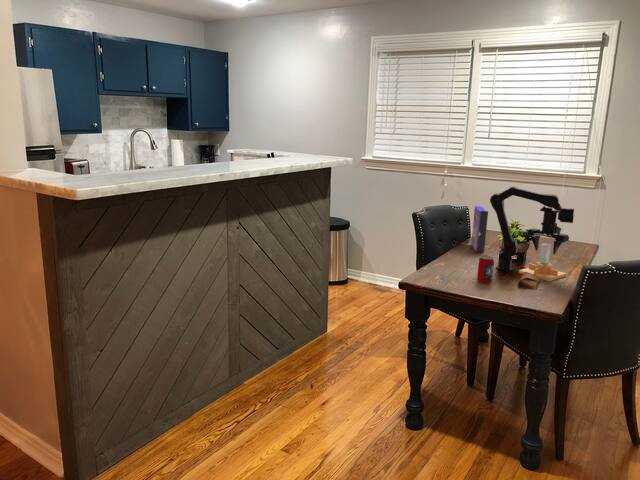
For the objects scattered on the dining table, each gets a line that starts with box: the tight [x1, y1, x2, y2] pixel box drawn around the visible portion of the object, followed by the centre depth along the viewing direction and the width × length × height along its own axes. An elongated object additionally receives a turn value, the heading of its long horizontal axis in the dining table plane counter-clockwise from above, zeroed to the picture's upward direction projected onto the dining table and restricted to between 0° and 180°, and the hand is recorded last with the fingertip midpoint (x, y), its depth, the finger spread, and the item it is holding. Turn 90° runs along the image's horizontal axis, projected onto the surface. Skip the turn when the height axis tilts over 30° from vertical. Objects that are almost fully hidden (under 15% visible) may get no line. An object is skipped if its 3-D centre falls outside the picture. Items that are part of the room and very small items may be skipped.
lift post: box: [538, 242, 552, 264], centre depth 252 cm, size 3×3×10 cm
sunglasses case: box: [517, 272, 542, 291], centre depth 239 cm, size 18×7×7 cm, turn 153°
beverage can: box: [476, 255, 495, 285], centre depth 238 cm, size 7×7×12 cm
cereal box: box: [470, 205, 489, 252], centre depth 303 cm, size 17×5×24 cm, turn 172°
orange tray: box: [518, 261, 568, 282], centre depth 254 cm, size 16×16×6 cm
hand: (545, 252), depth 252 cm, fingers open, 9 cm apart
